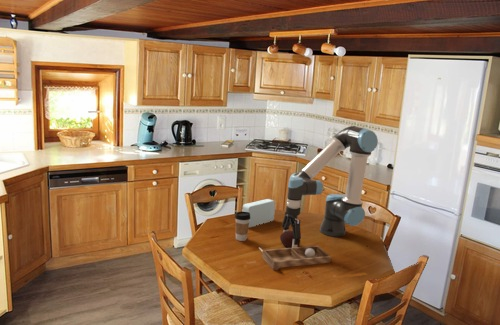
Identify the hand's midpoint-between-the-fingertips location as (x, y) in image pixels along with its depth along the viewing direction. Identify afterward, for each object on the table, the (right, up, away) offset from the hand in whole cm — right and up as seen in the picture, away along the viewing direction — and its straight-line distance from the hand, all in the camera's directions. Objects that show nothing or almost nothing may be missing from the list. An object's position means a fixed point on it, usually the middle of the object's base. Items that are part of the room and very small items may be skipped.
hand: (289, 245), depth 238 cm
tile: (-12, -2, -7) cm, 14 cm away
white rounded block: (-16, +7, +34) cm, 38 cm away
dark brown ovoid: (0, -1, 0) cm, 1 cm away
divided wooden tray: (+2, -5, -16) cm, 17 cm away
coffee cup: (-26, +2, +7) cm, 27 cm away
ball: (+9, -4, -13) cm, 16 cm away
